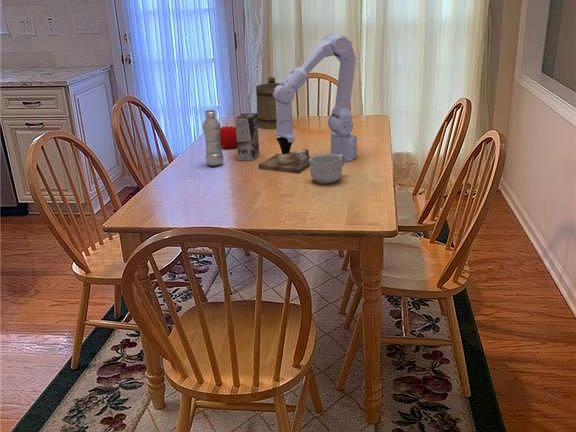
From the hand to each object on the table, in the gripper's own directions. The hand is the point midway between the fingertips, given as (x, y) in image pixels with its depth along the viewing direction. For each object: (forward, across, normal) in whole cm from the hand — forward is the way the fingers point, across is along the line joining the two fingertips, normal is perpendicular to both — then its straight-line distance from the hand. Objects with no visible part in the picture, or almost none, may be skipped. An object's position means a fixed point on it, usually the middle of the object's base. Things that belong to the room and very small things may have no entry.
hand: (285, 157), depth 205 cm
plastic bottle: (+3, -11, -24) cm, 27 cm away
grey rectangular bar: (+1, +2, +3) cm, 3 cm away
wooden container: (+3, -61, +14) cm, 62 cm away
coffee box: (+3, -15, -10) cm, 19 cm away
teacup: (+3, +22, +8) cm, 24 cm away
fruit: (+3, -33, -13) cm, 36 cm away
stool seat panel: (+3, 0, 0) cm, 3 cm away
